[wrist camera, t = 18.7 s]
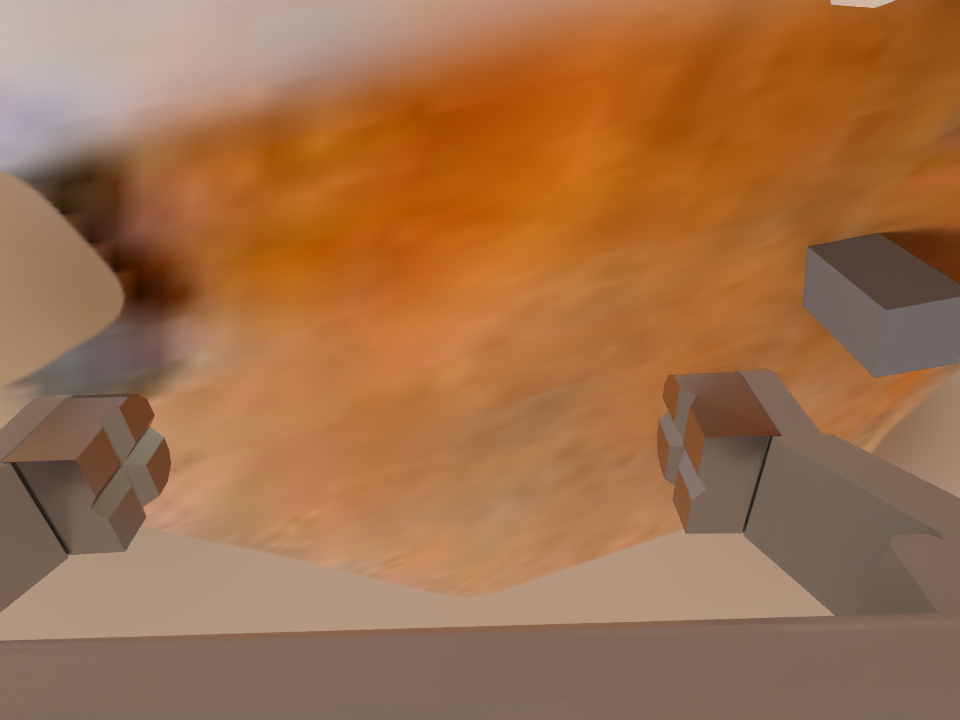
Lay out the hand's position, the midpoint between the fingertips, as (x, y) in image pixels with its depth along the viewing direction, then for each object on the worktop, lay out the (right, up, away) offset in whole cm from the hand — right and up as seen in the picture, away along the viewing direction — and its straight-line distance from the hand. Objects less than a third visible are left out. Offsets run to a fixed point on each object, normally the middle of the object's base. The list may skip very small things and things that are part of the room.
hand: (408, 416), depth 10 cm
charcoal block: (+28, +8, +36) cm, 46 cm away
